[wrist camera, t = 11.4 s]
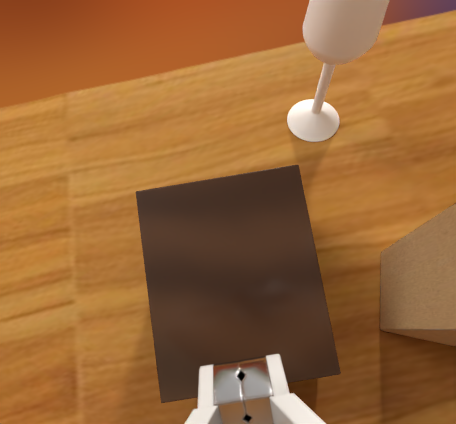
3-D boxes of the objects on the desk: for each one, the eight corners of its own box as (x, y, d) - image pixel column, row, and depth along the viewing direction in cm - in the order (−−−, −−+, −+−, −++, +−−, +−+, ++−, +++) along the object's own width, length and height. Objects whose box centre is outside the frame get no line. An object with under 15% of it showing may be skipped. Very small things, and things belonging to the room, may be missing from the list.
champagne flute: (344, 138, 39) (470, -118, 17) (291, 144, 39) (346, -101, 17) (333, 96, 42) (430, -177, 19) (283, 102, 42) (321, -161, 20)
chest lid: (138, 193, 27) (135, 191, 26) (296, 167, 26) (298, 164, 26) (163, 398, 24) (161, 403, 23) (337, 370, 24) (341, 374, 23)
